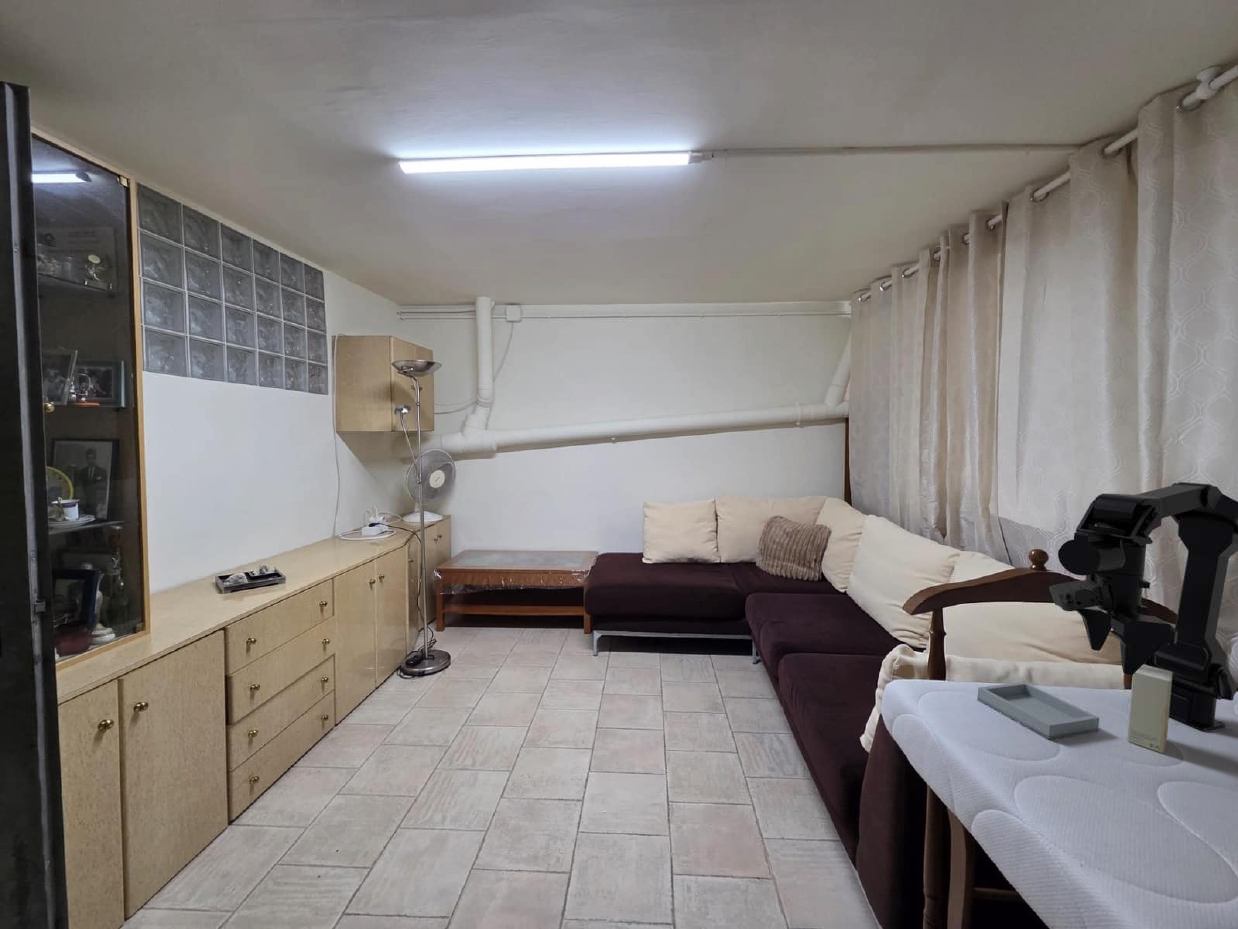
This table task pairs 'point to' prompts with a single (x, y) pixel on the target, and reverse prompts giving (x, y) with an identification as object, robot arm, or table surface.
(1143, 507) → the robot arm
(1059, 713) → the sorting tray
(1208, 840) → the table surface
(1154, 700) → the skincare box
